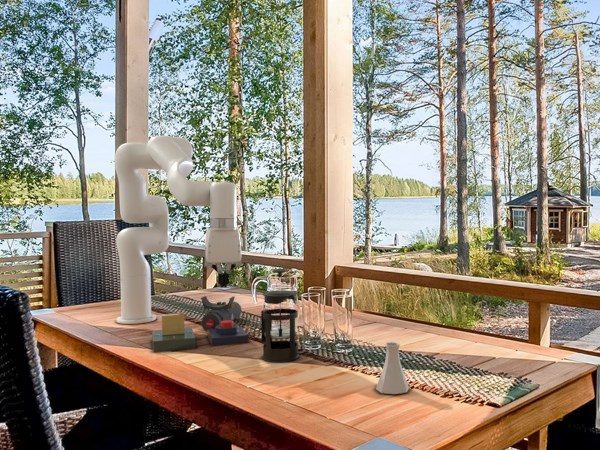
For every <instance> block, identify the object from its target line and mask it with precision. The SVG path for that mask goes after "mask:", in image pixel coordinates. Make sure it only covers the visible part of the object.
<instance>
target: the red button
mask: <svg viewBox="0 0 600 450" xmlns="http://www.w3.org/2000/svg"><path fill="white" fill-rule="evenodd" d="M233 324H234V320H233V321H232V320H224V321H221V327H222V328H229V327H233Z"/></svg>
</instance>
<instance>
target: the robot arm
mask: <svg viewBox="0 0 600 450" xmlns="http://www.w3.org/2000/svg"><path fill="white" fill-rule="evenodd" d="M193 156H194V148H193V145H192V144H191V142H190V141H189V140H188V139H186V138H185V137H181V136H174V135H173V136H171V135H162V134H161V135H155V136H153V137H151V138H150V139H149V140H148V141H147V142H146V143H145V142H135V141H133V142H126V143H122V144H120V145H119V146H118V148H116V151H115V154H114V169H115V172H116V176H117V179H118V180H117V181H118V194H119V195H118V196H119V197H118V198H119V212H120V218H121V220H122V221H123V222H125V223H128V224H148V226H135V227H134V226H133V227H127V228H124V229H121V231H119V232H118V233H117V235H116V238H115V244H116V248H117V253H118V259H119V277H120V278H119V280H120V316H118V317H116V318H115V321H116V323H118V324H122V325H136V324H147V323H150V322H153V321H155V320H157V315H156V314H155V313H152V281H151V280H152V278H151V276H152V275H151V266H150V264H149V261H148V260H147V259H146V258H145V256H148V255H157V254H162V253H165V252H166V251H167V250H168V248H169V246H170V237H171V236H170V215H169V214H170V213H169V211H170V210H169V206H168V203H167V202H166V200H165V199H164V198H163V197H161V196H160V195H157V194H156V195H155V194H154V195H149V194H148V192H147V182H146V179H145V177H144V175H143V174H142V172H141V171H140V169H141V170H160V171H161V170H163V171H164V172H165V174H166V186H167V189H168V191H169V193H170V194H171V195H172V196H173V197H174V198H175V200H177V202H179V203H180V204H182V205H183V206H186V207H209V228H207V229H206V234H205V243H204V264H203V265H204V267H205V268H209V269H212V270H214V271H215V272H216V273H217V285H219V287H220V288H228V285H229V284H230V273H231V272H232V271H233V270H234V269H235V268H239V267H242V266H243V263H242V243H241V234H240V229H239V228H238V226H242V222H243V221H242V220H241V219H238V218H237V217H238V216H237V215H238V214H237V213H238V212H237V209H238V208H237V206H238V205H237V202H238V201H237V199H238V197H237V193H238V189H237V185H236V184H235V182H231V181H208V180H207V181H206V180H190V179H188V178H187V177H188V176H189V175H190V174H191V173H192V171H193V169H194V162H193V160H192V158H193ZM222 264H225V265H224V270H222V269H223V268H222Z"/></svg>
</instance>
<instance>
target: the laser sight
mask: <svg viewBox="0 0 600 450" xmlns="http://www.w3.org/2000/svg"><path fill="white" fill-rule="evenodd" d="M200 300H201V303H202V307H203V310H209V311H208V312H207V313H206V314H205V315H204V316H203V317H202V319H201V327H202V329H203V330H204V331H205V332H207V329H215V327H216V326H217V325H221V321H224V320H232V321H233V322H234V320H235V319H236V318H238V317H239V316H240V315H241V313H242V306H241V304H240V303H239V302H237V301H235V296H231V297H229V299H228V302H227V301H216V303H212V302H211V301H209V299H208V295H204V296H202V297H200Z"/></svg>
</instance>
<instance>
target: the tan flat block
mask: <svg viewBox="0 0 600 450" xmlns="http://www.w3.org/2000/svg"><path fill="white" fill-rule="evenodd" d="M185 328H186V326H185V313H184V312H179V313H168V314H167V313H166V314H165V313H163V314H161V330H162V335H173V334H184V333H185Z"/></svg>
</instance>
